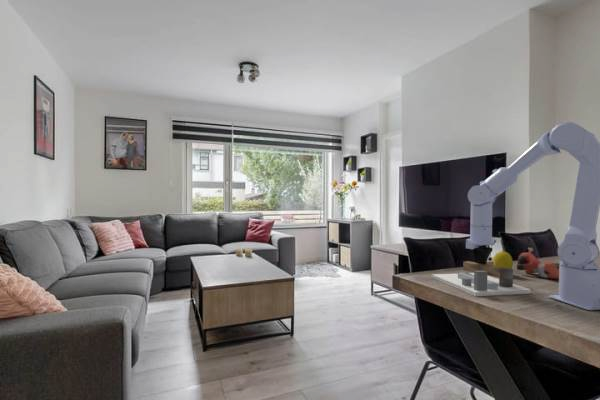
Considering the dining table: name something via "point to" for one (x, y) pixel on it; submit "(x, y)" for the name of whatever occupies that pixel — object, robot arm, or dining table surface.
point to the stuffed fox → (537, 265)
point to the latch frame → (479, 284)
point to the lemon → (503, 260)
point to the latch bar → (492, 272)
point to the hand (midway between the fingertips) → (480, 270)
